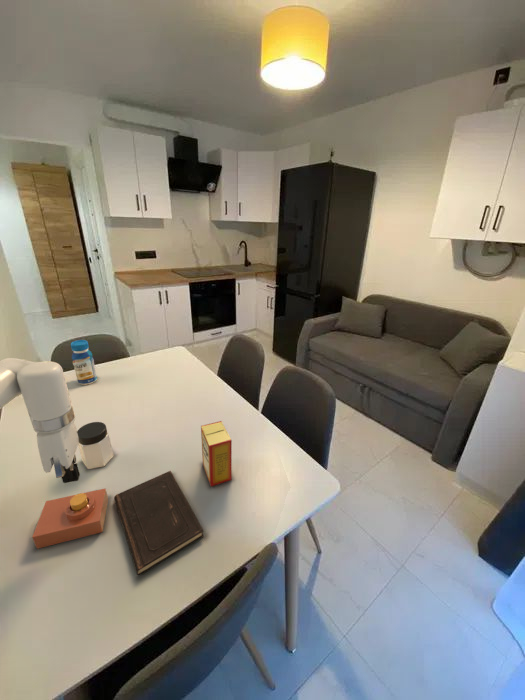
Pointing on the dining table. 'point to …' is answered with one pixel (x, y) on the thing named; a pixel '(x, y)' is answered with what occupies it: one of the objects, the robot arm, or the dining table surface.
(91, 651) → the dining table surface
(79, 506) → the yellow push button
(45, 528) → the push button box
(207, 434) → the baking soda box
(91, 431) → the jar
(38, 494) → the dining table surface
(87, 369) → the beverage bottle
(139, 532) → the hardcover book
